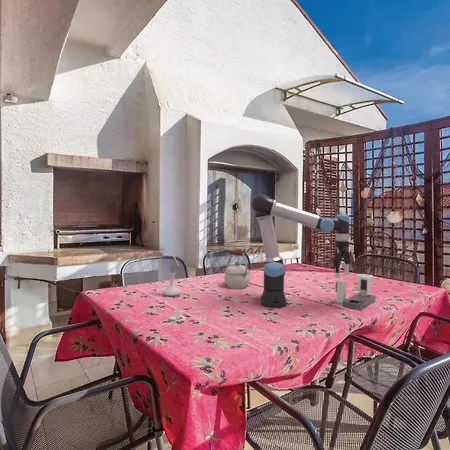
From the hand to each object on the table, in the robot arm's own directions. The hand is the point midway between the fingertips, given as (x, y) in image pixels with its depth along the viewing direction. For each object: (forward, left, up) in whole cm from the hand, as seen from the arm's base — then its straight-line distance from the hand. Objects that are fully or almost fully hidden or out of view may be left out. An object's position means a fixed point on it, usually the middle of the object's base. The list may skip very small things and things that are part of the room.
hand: (342, 276), depth 198 cm
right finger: (0, 0, -16) cm, 16 cm away
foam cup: (+5, +26, -16) cm, 31 cm away
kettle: (-73, -9, -16) cm, 75 cm away
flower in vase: (-88, -55, -16) cm, 105 cm away
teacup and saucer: (-53, -85, -16) cm, 102 cm away
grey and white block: (+9, +5, -16) cm, 18 cm away
